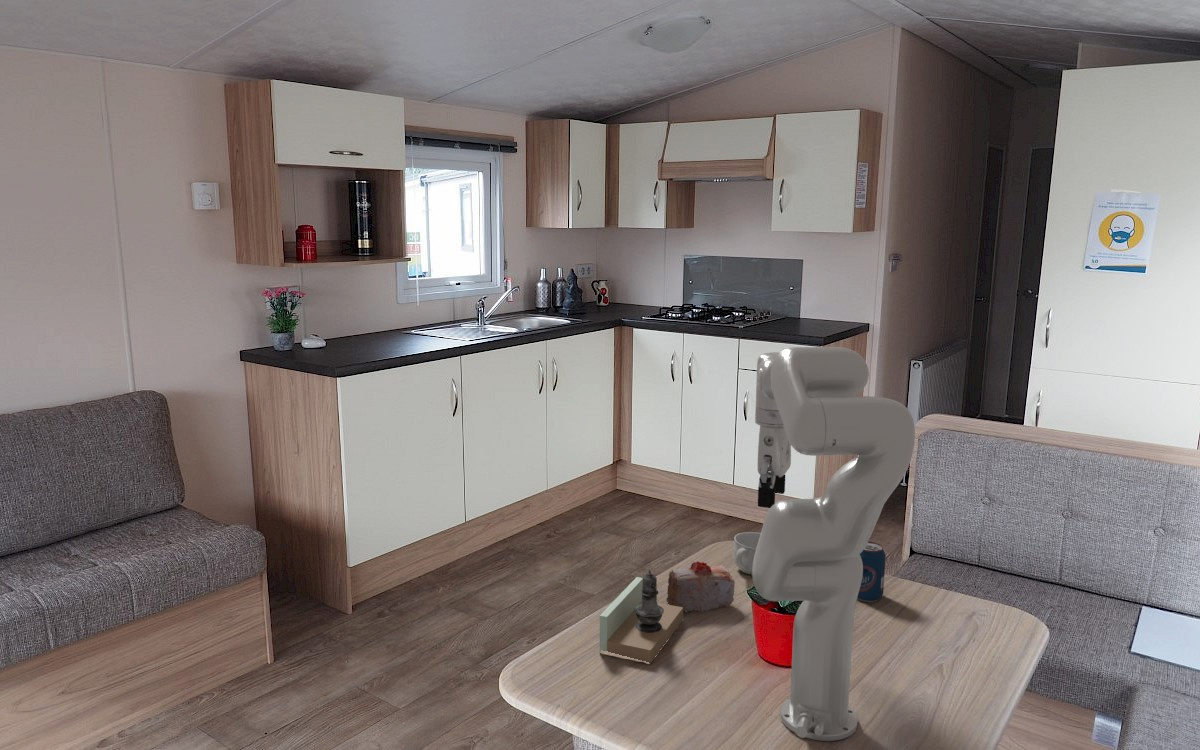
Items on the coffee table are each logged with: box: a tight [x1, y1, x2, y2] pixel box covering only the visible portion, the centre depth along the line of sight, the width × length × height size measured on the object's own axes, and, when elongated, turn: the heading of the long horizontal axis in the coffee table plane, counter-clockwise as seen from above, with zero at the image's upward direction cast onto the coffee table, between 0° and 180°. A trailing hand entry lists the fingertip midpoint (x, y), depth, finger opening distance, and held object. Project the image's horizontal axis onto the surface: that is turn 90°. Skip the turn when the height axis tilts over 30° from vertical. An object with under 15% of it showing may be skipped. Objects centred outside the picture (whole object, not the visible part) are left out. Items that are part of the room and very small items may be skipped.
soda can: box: [857, 541, 887, 603], centre depth 192 cm, size 7×7×12 cm
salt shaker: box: [634, 569, 664, 633], centre depth 171 cm, size 6×6×12 cm
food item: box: [666, 561, 736, 612], centre depth 187 cm, size 14×8×10 cm, turn 107°
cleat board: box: [599, 576, 684, 663], centre depth 173 cm, size 20×10×8 cm, turn 157°
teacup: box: [733, 531, 761, 576], centre depth 205 cm, size 14×11×8 cm
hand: (771, 499), depth 171 cm, fingers open, 9 cm apart
